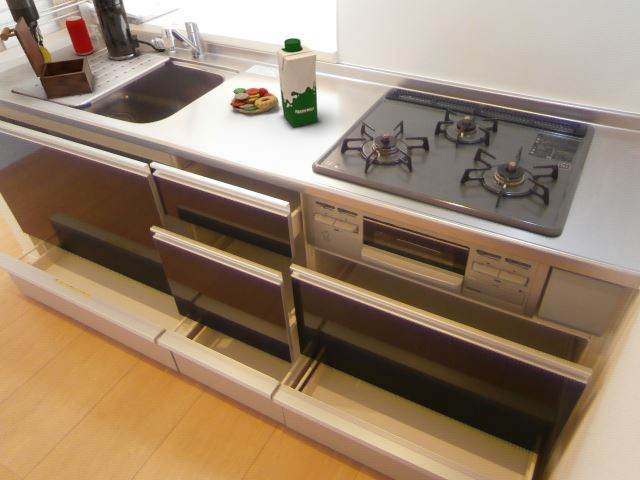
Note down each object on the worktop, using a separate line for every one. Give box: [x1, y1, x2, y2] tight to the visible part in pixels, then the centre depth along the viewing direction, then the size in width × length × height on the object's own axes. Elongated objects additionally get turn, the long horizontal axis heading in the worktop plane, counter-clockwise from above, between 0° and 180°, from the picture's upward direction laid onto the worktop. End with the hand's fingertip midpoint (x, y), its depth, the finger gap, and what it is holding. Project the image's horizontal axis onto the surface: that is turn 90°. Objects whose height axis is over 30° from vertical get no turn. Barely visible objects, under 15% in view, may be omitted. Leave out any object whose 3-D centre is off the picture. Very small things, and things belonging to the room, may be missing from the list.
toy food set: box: [229, 87, 279, 115], centre depth 141 cm, size 13×13×3 cm
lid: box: [0, 17, 45, 78], centre depth 147 cm, size 13×13×6 cm
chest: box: [39, 56, 94, 100], centre depth 155 cm, size 13×13×6 cm
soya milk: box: [276, 37, 319, 128], centre depth 129 cm, size 9×9×20 cm
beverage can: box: [65, 15, 94, 56], centre depth 176 cm, size 6×6×12 cm
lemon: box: [40, 45, 52, 63], centre depth 167 cm, size 6×6×8 cm
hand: (42, 58), depth 167 cm, fingers closed on lemon, 5 cm apart
